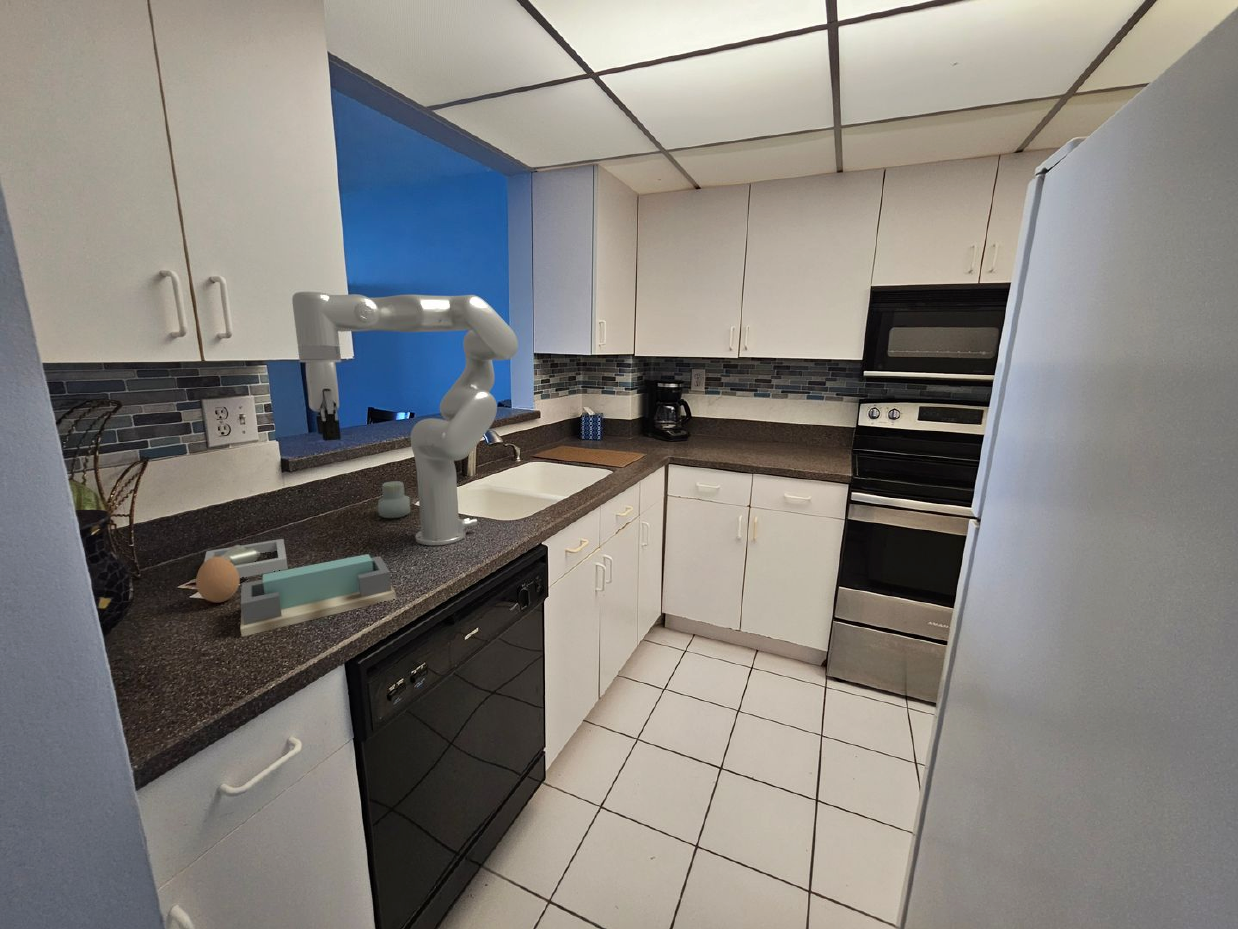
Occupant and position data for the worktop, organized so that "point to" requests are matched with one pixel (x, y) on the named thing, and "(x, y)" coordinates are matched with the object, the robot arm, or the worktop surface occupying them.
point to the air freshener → (393, 500)
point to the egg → (217, 579)
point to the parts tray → (260, 566)
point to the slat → (317, 581)
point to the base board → (316, 611)
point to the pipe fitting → (241, 555)
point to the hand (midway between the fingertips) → (329, 436)
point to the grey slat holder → (268, 605)
